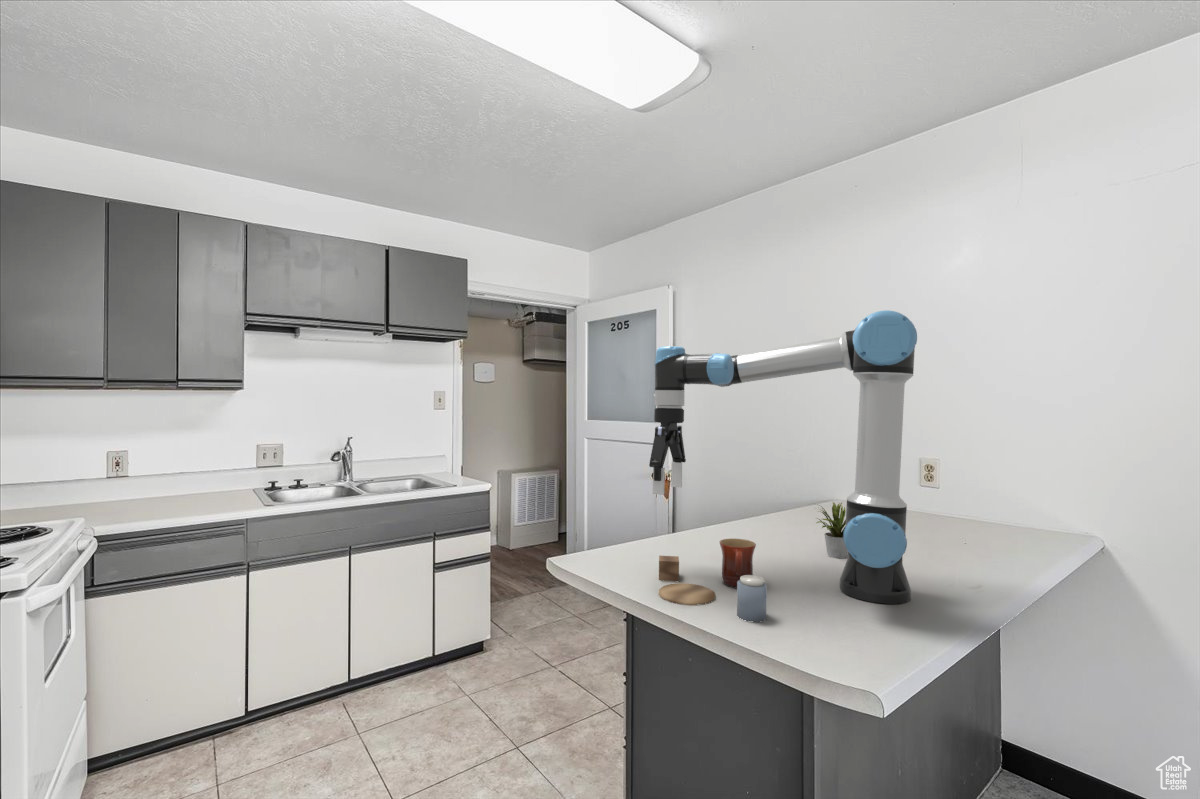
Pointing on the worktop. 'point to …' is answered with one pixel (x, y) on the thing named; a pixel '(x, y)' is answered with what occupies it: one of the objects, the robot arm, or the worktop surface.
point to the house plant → (835, 532)
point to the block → (669, 568)
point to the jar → (751, 598)
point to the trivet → (686, 593)
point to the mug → (736, 559)
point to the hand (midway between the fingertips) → (667, 490)
